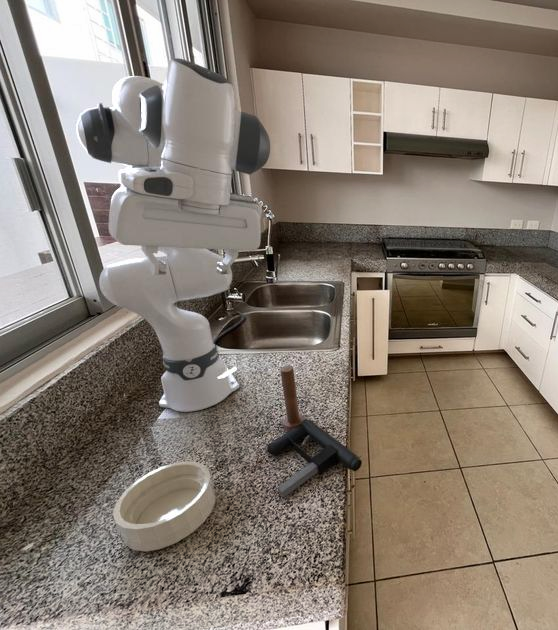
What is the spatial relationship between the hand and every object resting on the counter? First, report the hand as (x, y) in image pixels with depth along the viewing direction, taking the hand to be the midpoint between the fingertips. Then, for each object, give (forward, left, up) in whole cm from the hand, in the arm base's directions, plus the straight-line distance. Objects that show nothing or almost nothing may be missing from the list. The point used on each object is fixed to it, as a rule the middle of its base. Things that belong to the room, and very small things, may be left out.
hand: (192, 273), depth 56 cm
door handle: (+6, +13, -42) cm, 45 cm away
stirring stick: (-8, +13, -42) cm, 45 cm away
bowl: (+7, -11, -42) cm, 44 cm away
